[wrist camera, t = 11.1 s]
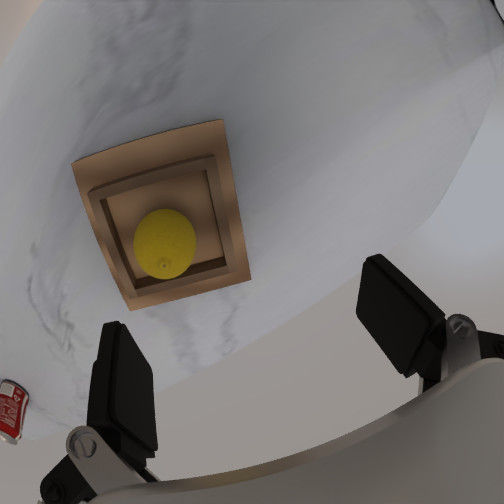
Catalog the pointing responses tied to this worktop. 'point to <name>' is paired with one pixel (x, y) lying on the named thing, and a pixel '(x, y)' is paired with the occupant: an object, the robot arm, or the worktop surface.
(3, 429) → the soda can
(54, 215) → the worktop surface
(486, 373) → the robot arm
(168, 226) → the lemon
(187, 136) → the board
